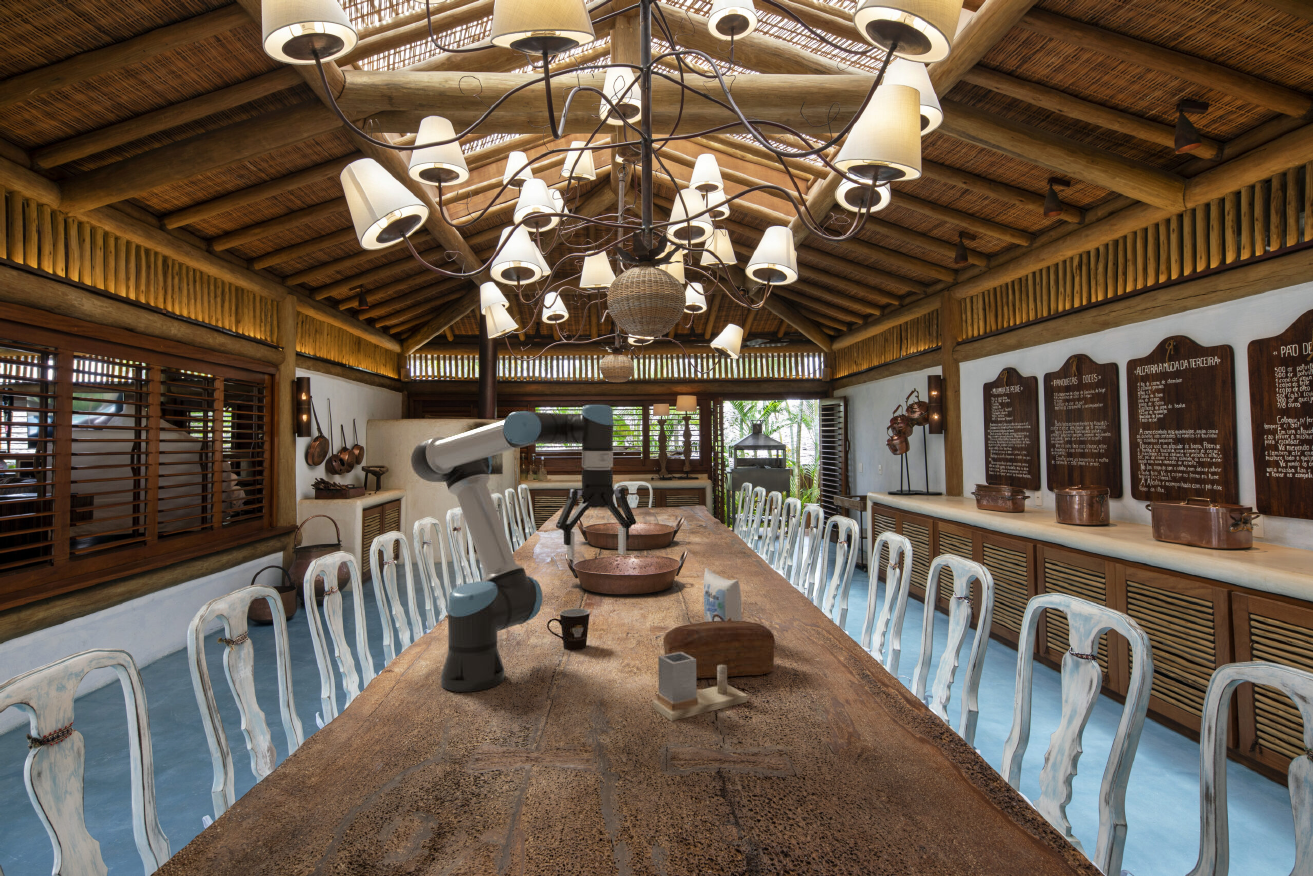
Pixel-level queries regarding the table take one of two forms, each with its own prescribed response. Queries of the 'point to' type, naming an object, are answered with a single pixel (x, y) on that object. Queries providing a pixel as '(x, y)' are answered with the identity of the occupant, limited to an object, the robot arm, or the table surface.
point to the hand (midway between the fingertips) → (596, 556)
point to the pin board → (707, 699)
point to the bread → (724, 647)
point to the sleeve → (677, 681)
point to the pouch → (721, 598)
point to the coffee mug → (573, 628)
